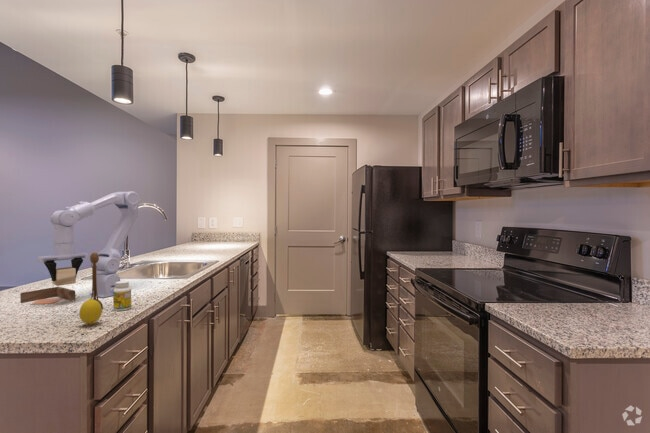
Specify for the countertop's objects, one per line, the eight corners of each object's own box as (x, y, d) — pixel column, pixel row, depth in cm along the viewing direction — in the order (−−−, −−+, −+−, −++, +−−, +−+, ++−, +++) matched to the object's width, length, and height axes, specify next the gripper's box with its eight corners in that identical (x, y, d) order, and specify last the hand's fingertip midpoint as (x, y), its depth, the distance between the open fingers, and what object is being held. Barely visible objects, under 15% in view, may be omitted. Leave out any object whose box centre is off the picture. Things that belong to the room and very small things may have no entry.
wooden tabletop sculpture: (86, 308, 118) (85, 251, 117) (101, 306, 121) (101, 251, 120) (87, 312, 113) (86, 253, 113) (103, 310, 116) (103, 252, 115)
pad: (62, 298, 130) (62, 297, 130) (52, 303, 123) (52, 302, 123) (40, 299, 128) (40, 299, 128) (30, 304, 121) (30, 304, 121)
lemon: (86, 322, 104) (86, 296, 104) (105, 321, 104) (105, 296, 104) (75, 328, 98) (75, 301, 98) (94, 327, 99) (94, 301, 98)
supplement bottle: (134, 307, 119) (134, 280, 119) (121, 312, 114) (121, 284, 114) (123, 306, 121) (123, 279, 120) (109, 310, 116) (109, 282, 115)
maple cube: (75, 283, 124) (75, 268, 124) (57, 285, 119) (57, 270, 119) (70, 281, 127) (70, 266, 127) (52, 283, 122) (52, 268, 122)
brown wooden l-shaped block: (75, 299, 128) (75, 290, 128) (36, 307, 118) (36, 297, 118) (58, 295, 134) (58, 286, 134) (20, 302, 124) (20, 292, 124)
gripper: (83, 240, 131) (83, 275, 131) (35, 243, 119) (35, 281, 120) (89, 241, 127) (90, 277, 127) (41, 245, 115) (41, 284, 115)
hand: (64, 279), depth 123 cm, fingers closed on maple cube, 5 cm apart
